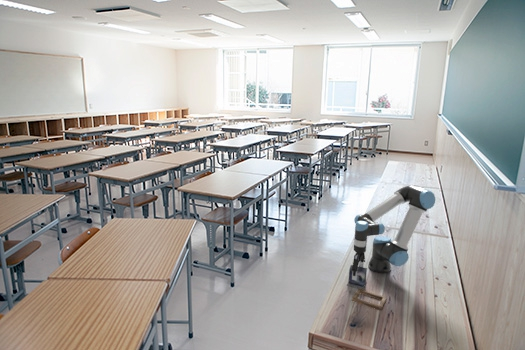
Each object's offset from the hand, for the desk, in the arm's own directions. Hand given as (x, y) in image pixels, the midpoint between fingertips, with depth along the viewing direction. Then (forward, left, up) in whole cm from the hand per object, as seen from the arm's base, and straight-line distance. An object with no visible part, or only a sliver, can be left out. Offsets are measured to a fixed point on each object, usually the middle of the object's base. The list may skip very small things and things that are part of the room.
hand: (357, 275), depth 220 cm
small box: (0, 0, -6) cm, 6 cm away
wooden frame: (+14, +12, -6) cm, 19 cm away
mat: (0, 0, -6) cm, 6 cm away
